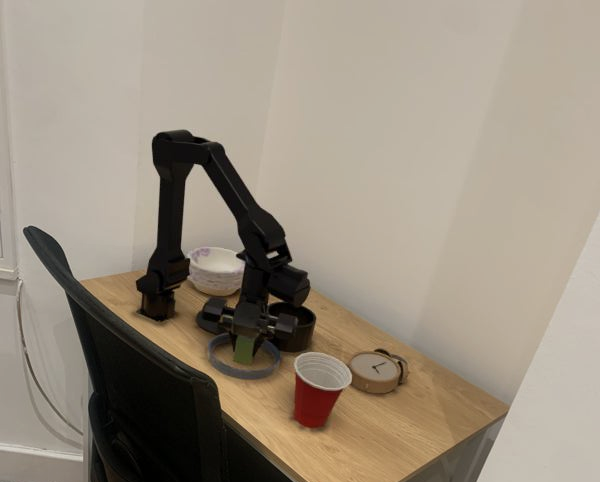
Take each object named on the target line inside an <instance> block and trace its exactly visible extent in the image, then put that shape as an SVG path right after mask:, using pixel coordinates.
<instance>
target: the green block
mask: <svg viewBox="0 0 600 482" xmlns="http://www.w3.org/2000/svg"><path fill="white" fill-rule="evenodd" d="M257 336H258V334H256V337H255V338H247V337H245V336H241V335H238V337H237V340H236V346H235V352H233V359H232V362H234V363H238V364H242V365H247V366H251V364H252V361H253V359H254V357H252V355H253V350H254V347H255V344H256V340H257Z"/></svg>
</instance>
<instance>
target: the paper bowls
mask: <svg viewBox="0 0 600 482" xmlns="http://www.w3.org/2000/svg"><path fill="white" fill-rule="evenodd" d="M238 253H239V252H237V251H235V250H231V249H227V248H223V247H216V246H203V247H197V248H194V249H191V250H190V251H188V252H187V254H186V257H187V258H190V261H191V262H190V267H189V272H190V276H188V277H187V280H189V281H190V282H191V283H192V284H193V286H194V287H195V288H196V289H197V290H198V291H199V292H202V293H203V294H207V295H210V296H213V297H227V296H230V295H233V294H234V293H235V292H236V291H237V290H239V289H241V284H242V277H243V271H244V265H245V262H244V261H243V260H240V259H238V258H236V254H238Z"/></svg>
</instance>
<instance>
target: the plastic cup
mask: <svg viewBox="0 0 600 482" xmlns="http://www.w3.org/2000/svg"><path fill="white" fill-rule="evenodd" d="M293 368H294V375H295V378H294V381H295V382H294V401H293V404H294V409H293V410H294V412H293V416H294V419H295V421H296V422H297V423H298V424H300V425H301V426H303V427H306V428H309V429H317V428H320V427H322V426H324V425H325V424H326V423H327V419H328V418H329V416H330V414H331V413H332V411H333V410H334V407H335V405H336V404H337V402H338V399H339V398H340V396H341V394H342V393H343V391H344V390H345V389H346V388H347V387H348V386H349V385H351V381H352V374H351V372H350V370H349V368H348V365H346V364H345V363H344V362H343V361H341V360H340V359H338V358H336V357H334V356H333V355H330V354H326V353H323V352H318V351H317V352H314V351H309V352H304V353H301V354H300V355H298V356H297V357H295V359H294V363H293Z"/></svg>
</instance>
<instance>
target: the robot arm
mask: <svg viewBox="0 0 600 482" xmlns="http://www.w3.org/2000/svg"><path fill="white" fill-rule="evenodd" d="M151 155H152V165H153V166H154V168H155V171H156V172H157V175H158V176H159V188H158V190H159V192H158V208H157V209H158V211H157V231H156V232H157V233H156V247H155V249H154V250H153V252H152V254H151V255H150V258H149V259H148V263H147V266H146V272H145V273H146V274H144V275H142V276H140V277H139V278H137V280H135V287H136V291H138V292H139V293H141V302H140V303H141V304H140V309H138V310H136V311H135V312H136V314H139V315H141V316H143V317H145V318H148V319H150V320H152V321H154V322H157V323H162V322H164V321H167V320H169V319H171V318H173V317H174V316H175V315H176V314H177V311H175V309H176V299H175V291H174V290H178V289H181V286H182V284H184V283H185V282H187V280H188V278H187V277H188V276H190V272H189V267H190V262H191V261H190V258H187V256H186V255H185V253H184V251H183V250H182V240H183V239H182V237H183V224H184V210H185V195H186V181H187V179H188V177H189V175H190V173H191V172H192V170H193V168H194V167H195V165H198V166H200V167H202V169H203V171H204V172H205V174H206V175H207V177H208V178H209V180H210V182H211V183H212V185H213V186H214V187H215V189H216V191H217V193H218V194H219V195H220V197H221V198H222V200H223V201H224V203H225V204H226V207H227V208H228V209H229V211H230V212H231V214H232V216H233V217H234V220H235V222H236V227H237V228H236V229H237V235H238V237H239V239H240V242H241V244H242V246H243V248H244V249H243V250H242V251H240V252H237V253H238V254H236V258H238V259H240V260H243V261H244V262H245V265H244V271H243V277H242V284H241V288H240V291H239V296H238V301H237V302H236V304H235V306H234V307H232V306H231V307H227V304H228V303H229V300H228V299H225V298H221V297H218V296H214V295H210V296H209V297H207V299H206V300H205V302H204V304H203V306H202V309H201V310H202V314H201V318H202V319H203V320H207V321H211V322H215V323H216V322H218V321H219V320H220V319H221V315H222V322H221V324H220V325H221V327H224V328H225V329H226V330H227V331H228V333H229V335H230V339H231V342H230V343H231V347H232V352H233V353H234V352H235V346H236V340H237V337H238V335H241V336H245V337H247V338H255V337H256V335H257V336H258V338H257V341H256V344H255V347H254V350H253V355H252V357H253V358H255V356H256V354H257V353H258V351H259V350H260V346H261V345H262V343H263V342H264V341H265V340H266V339H273V337H274V335H276V337H277V338H281V339H285V340H289V341H291V340H293V338H294V335H295V332H296V328H297V324H298V319H297V317H295V316H291V315H287V314H283V313H280V315H279V317H274V316H270V315H266V310H267V306H268V305H269V301H270V300H269V299H270V296H272V297H274V298H276V299H278V300H280V301H281V302H286V303H288V304H290V305H292V306H294V307H300V306H301V305H302V306H303V304H304V303H305V302H306V300H307V299H308V297H309V295H310V291H311V289H312V287H311V280H310V279H309V278H308V275H309V272H308V271H306V270H305V269H300V268H297V267H296V266H292V265H290V263H292V262H293V256H292V254H291V251H290V248H289V246H288V243H287V240H286V236H287V235H286V232H285V230H284V227H283V226H282V225H281V223H280V222H279V221H278V220H277V218H275V216H274V215H273V214H272V213H270V212H268V211H267V210H266V209H265V208H262V207H261V206H260V205H259V203H258V202H257V201H256V199H255V198H254V197H253V195H252V193H251V192H250V190H249V188H248V187H247V185H246V184H245V182H244V181H243V179H242V178H241V176H240V173H238V171H237V169H236V168H235V166H234V165H233V163H232V162H231V160H230V158H229V157H228V155H227V154H226V150H225V147H224V145H223V144H222V143H220V142H218V141H211V140H210V139H208V138H205V137H201V136H196V135H193V133H192V132H190V131H189V130H187V129H175V130H174V129H173V130H166V131H165V130H163V131H159V132H157V133H155V135H154V136H153V137H152V139H151ZM273 253H277V255H275V256H272V257H268V255H271V254H273ZM228 305H229V304H228Z"/></svg>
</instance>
